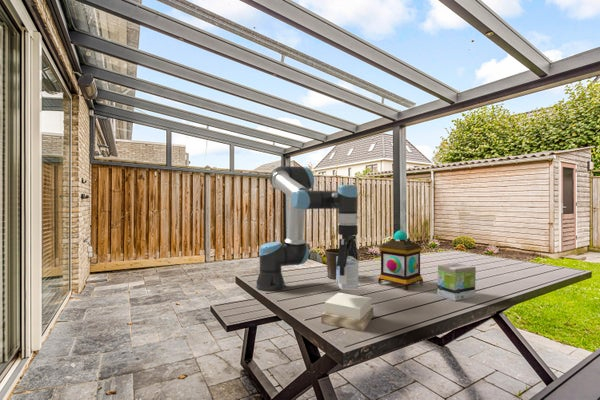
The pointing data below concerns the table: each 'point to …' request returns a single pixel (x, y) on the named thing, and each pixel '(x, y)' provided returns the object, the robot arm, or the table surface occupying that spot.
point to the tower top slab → (348, 305)
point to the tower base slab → (347, 320)
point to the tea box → (456, 281)
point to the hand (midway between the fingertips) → (347, 279)
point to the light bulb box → (349, 274)
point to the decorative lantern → (400, 261)
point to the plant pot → (331, 262)
